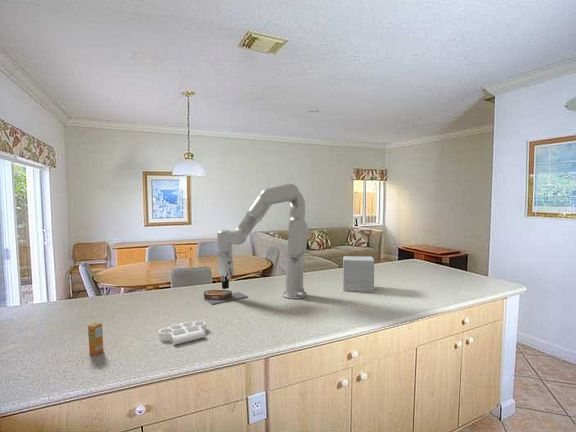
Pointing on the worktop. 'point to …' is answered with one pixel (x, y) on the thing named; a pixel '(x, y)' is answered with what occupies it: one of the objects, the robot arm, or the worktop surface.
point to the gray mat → (234, 297)
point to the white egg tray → (183, 332)
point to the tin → (217, 294)
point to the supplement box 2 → (358, 273)
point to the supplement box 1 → (95, 338)
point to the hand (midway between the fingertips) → (225, 288)
